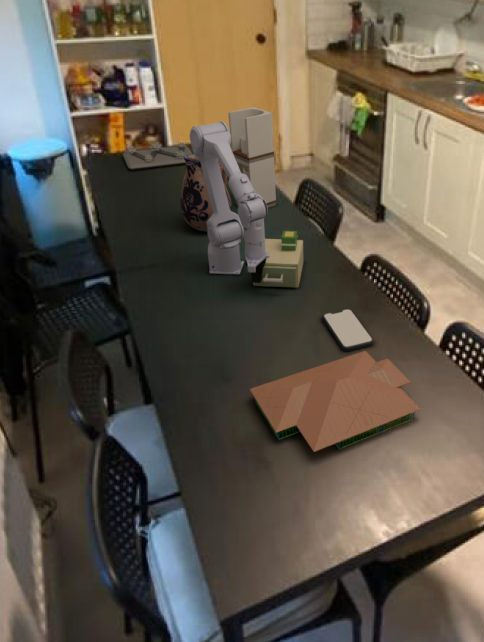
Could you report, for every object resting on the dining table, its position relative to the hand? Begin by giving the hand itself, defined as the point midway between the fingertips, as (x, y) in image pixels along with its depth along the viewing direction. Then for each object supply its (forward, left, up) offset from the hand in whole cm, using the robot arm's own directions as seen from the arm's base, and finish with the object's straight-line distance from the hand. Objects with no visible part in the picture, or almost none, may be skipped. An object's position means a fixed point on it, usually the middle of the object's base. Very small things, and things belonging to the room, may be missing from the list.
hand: (257, 281), depth 165 cm
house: (+26, -48, -3) cm, 55 cm away
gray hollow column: (-11, +62, -3) cm, 63 cm away
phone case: (+27, -19, -3) cm, 33 cm away
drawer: (+5, +6, -2) cm, 8 cm away
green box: (+8, +13, +5) cm, 16 cm away
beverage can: (-31, +90, -3) cm, 95 cm away
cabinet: (+5, +10, -3) cm, 12 cm away
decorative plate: (-63, +108, -3) cm, 125 cm away
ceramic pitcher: (-24, +43, -3) cm, 49 cm away
